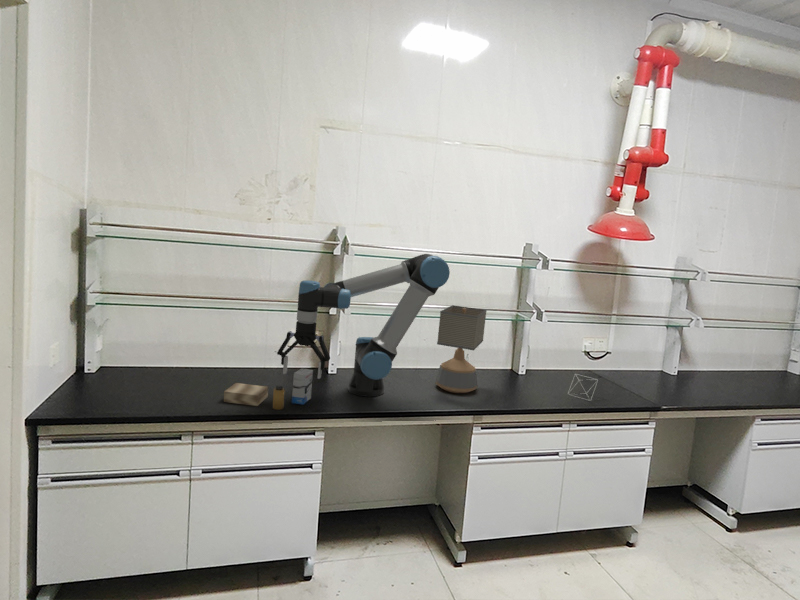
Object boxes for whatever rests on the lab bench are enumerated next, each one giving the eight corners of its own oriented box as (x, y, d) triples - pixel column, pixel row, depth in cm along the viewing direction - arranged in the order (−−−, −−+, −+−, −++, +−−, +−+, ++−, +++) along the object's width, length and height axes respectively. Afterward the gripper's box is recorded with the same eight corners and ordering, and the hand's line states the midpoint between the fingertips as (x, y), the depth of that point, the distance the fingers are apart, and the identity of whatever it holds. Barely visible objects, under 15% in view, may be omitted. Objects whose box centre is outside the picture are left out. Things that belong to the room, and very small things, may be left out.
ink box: (303, 405, 204) (305, 375, 202) (291, 403, 205) (292, 373, 203) (311, 398, 212) (313, 369, 210) (299, 396, 213) (301, 367, 211)
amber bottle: (285, 406, 201) (286, 385, 200) (281, 410, 197) (282, 388, 196) (274, 405, 201) (275, 384, 200) (271, 408, 197) (272, 387, 196)
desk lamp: (471, 399, 229) (481, 314, 223) (428, 391, 235) (437, 308, 229) (481, 386, 249) (490, 308, 244) (441, 378, 255) (449, 302, 250)
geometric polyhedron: (575, 390, 256) (577, 372, 255) (598, 396, 249) (600, 378, 248) (564, 396, 246) (567, 376, 245) (588, 402, 240) (591, 382, 238)
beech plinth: (267, 396, 210) (268, 386, 209) (257, 405, 199) (258, 395, 198) (235, 392, 211) (235, 382, 210) (223, 401, 200) (224, 391, 199)
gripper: (340, 323, 207) (335, 376, 210) (277, 315, 209) (273, 368, 212) (336, 327, 199) (331, 382, 202) (271, 319, 201) (267, 373, 204)
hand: (302, 375), depth 207 cm, fingers open, 13 cm apart
